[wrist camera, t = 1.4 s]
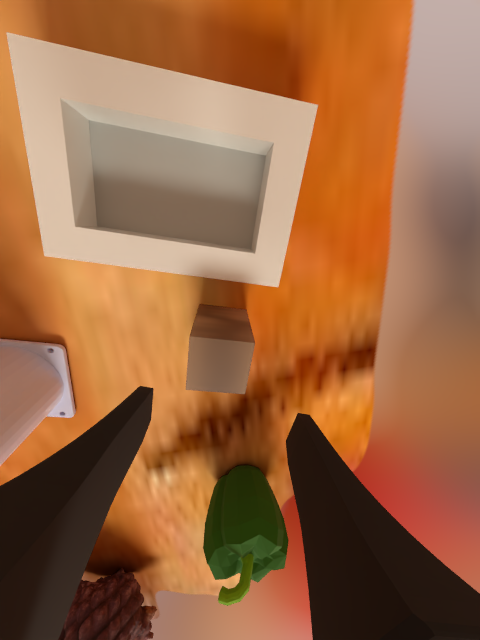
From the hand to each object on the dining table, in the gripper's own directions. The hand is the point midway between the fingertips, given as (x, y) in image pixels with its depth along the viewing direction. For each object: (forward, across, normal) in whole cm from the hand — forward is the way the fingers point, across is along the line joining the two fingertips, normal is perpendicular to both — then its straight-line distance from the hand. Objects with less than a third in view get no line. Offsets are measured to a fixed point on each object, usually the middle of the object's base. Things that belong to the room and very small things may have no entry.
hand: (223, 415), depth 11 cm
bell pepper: (+10, -5, +20) cm, 23 cm away
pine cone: (+8, +10, +43) cm, 45 cm away
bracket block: (+10, +1, 0) cm, 10 cm away
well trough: (+10, +6, -10) cm, 15 cm away
